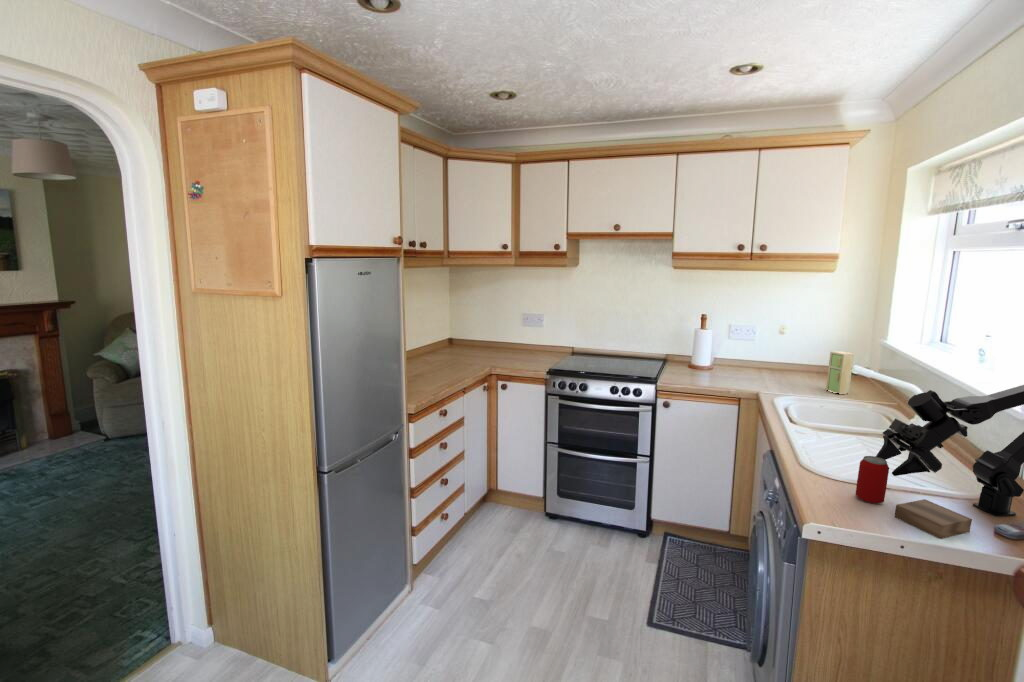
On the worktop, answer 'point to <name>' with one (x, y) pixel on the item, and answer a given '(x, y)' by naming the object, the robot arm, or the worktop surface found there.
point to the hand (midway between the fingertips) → (883, 467)
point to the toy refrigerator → (839, 371)
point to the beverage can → (872, 479)
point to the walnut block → (933, 518)
